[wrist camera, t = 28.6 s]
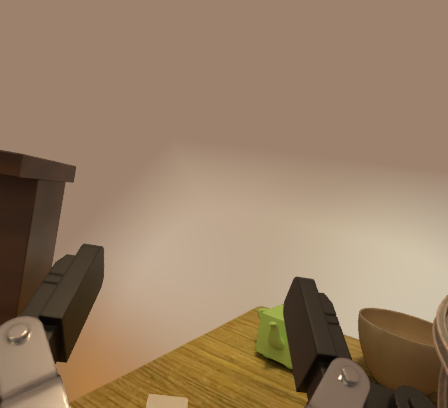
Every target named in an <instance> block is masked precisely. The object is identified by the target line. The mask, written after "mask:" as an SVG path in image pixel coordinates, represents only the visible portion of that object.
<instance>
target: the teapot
mask: <svg viewBox="0 0 448 408" xmlns="http://www.w3.org/2000/svg"><path fill="white" fill-rule="evenodd" d="M283 306H284V304H282V305H279V306H276V307H274V308H271V309H268V308H260V309H258V316H259V319H260V324H259V329H258V335H257V341H256V347H255V351H257V352H259V353H261V354H263V356H264V357H265V358H269V359H273V360H276V361H278V362H280V363H282V364H284V365H285V366H286V367H287V368H288V369H291V370H293V368H292V363H291V357H290V351H289V345H288V340H287V334H286V328H285V323H284V317H283Z"/></svg>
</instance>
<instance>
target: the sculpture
mask: <svg viewBox="0 0 448 408" xmlns="http://www.w3.org/2000/svg"><path fill="white" fill-rule="evenodd" d="M432 334H433V342H434V346H435V349H436V352H437V354H438V357H439V359H440V362H441V364H442V365H441V370H440V375H439V384H438V407H437V408H448V295H447V296H446V297H445V298H444V299H443V301H442V302H441V304H440V305H439V307H438V310H437V315H436V317H435V319H434V322H433V326H432Z"/></svg>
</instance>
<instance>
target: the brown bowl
mask: <svg viewBox="0 0 448 408" xmlns="http://www.w3.org/2000/svg"><path fill="white" fill-rule="evenodd" d="M358 319H359V320H358V331H359V339H360V345H361V349H362V352H363V355H364V358H365V361H366V363H367V365H368V367H369V369H370V371H371V373H372V375H373V377H374V378H375V380H376V381H377V382H378V383H379V384H380V385H381V386H384V387H386V388H388V389H394V390H396V389H397V388H398V387H400V386H403V385H407V386H411V387H414V388H416V389H418V390H419V391H421V392H422V393H424V394H425V395H428V394H430V393H432V392H433V391H435V390H437V389H438V384H439V375H440V370H441V365H442V364H441V362H440V359H439V357H438V354H437V352H436V349H435V346H434V342H433V334H432V326H433V323H431V322H428V321H426V320H423V319H420V318H417V317H414V316H410V315H407V314H404V313H400V312H396V311H391V310H385V309H378V308H364V309H361V310H360V311H359V318H358Z"/></svg>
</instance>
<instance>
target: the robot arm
mask: <svg viewBox="0 0 448 408" xmlns="http://www.w3.org/2000/svg"><path fill="white" fill-rule="evenodd" d="M103 278H104V248H103V247H102V246H96V245H89V244H83V245H82V246H81V247H80V249H79V251H78V252H77V254H76V255H75V256H74V255H68V254H67V255H65V256H64V257H63V258H61V259H60V260H58V261H57V262H55V264H54V266H53V267H52V268H51V270H50V271H49V274H48V275H47V276H46V277H45V279H44V280H43V283H41V284H40V286H39V287H38V289H37V290H36V292H35V293H34V295H33V296H32V298H31V299H30V300H29V302H28V303H27V305H26V306H25V308H24V309H23V311H22V312H21V314H20V315H19V316H18V317H17V318H13V319H11V320H9V321H7V322H5V323H4V324H2V325H1V326H0V399H1V401H0V408H71V407H70V404H69V401H68V398H67V394H66V391H65V388H64V385H63V382H62V379H61V376H60V375H58V372H57V369H56V366H55V364H56V362H67V361H68V359H69V356H70V354H71V352H72V350H73V348H74V346H75V343H76V341H77V339H78V337H79V335H80V333H81V330H82V328H83V326H84V324H85V322H86V319H87V317H88V315H89V312H90V311H91V309H92V306H93V304H94V302H95V300H96V298H97V295H98V293H99V291H100V289H101V286H102V282H103ZM283 317H284V323H285V328H286V334H287V340H288V345H289V351H290V357H291V363H292V368H293V374H294V380H295V385H296V391H297V392H304V393H307V398H308V402H307V403H306V405H305V407H304V408H436V407H435V405H434V404H433V403H432V401H431V400H430V399H429V398H428V397H427V396H426V395H425V394H424V393H422V392H421V391H419V390H418V389H416V388H414V387H411V386H407V385H403V386H400V387H398V388H397V389H396V390H395V391H393V390H390V389H388V388H386V387H384V386H381V385H379V384H377V383H375V382H373V381H371V380H369V378H368V376H367V374H366V373H365V371H364V370H363V369H362V368H361V367H360V366H359V365H358V364H357V363H355V362H354V361H352V358H351V355H350V353H349V350H348V347H347V344H346V341H345V338H344V335H343V332H342V330H341V327H340V326H339V321H338V318H337V317H336V312H335V310H334V307H333V304H332V302H331V301H330V300H329V299H328V297H327V296H326V295H325V294H324V293H318V290H317V287H316V284H315V281H314V280H313V279H309V278H301V277H295V278H294V279H293V282H292V284H291V287H290V289H289V292H288V294H287V296H286V299H285V301H284V306H283Z"/></svg>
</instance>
